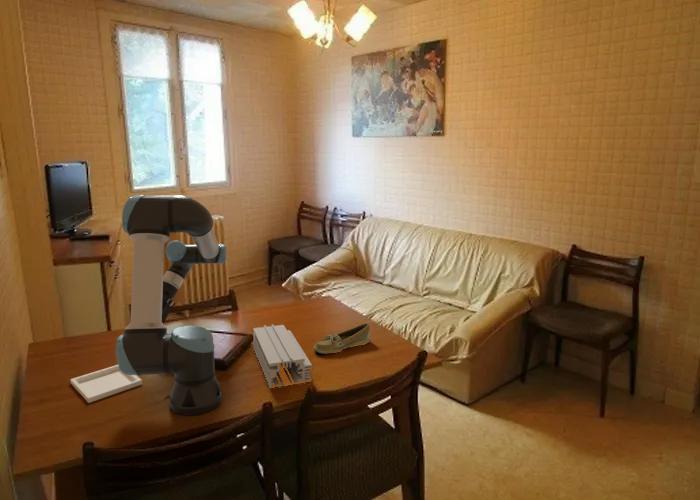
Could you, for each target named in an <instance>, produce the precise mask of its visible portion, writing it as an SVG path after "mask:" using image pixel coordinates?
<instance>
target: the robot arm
mask: <svg viewBox="0 0 700 500" xmlns="http://www.w3.org/2000/svg"><path fill="white" fill-rule="evenodd" d="M121 221H122V223H121V224H122V229H123V231H124V233H127V234H128V239H129V240H130V241H131V242H133V249H132V252H133V254H132V275H131V278H132V280H131V303H130V322H129V324H128V325H127V326H126V327H124V333H123V334H121V335H119V336H118V337H117V339H116V344H115V356H116V357H115V358H116V362H117V365H118V366H119V368H120V370H121V371H122V372H123V373H124V374H126V375H136V376H138V377H140V376H145V375H147V376H148V375H150V376H151V375H164V374H167V375H169V374H173V375H174V382H173V387H172V390H171V393H170V397H169V404H170V405H169V407H170V409H171V411H173V412H174V413H175V414H179V415H182V416H197V415H202V414H205V413H209V412H211V411H213V410H215V409H216V408H217V407H218V406H220V405H221V403H222V401H223V392H222V389H221V387H220V384H219V382H218V379H217V377H216V368H215V344H214V336H213V334H212V332H211V331H210V330H208V329H207V328H205V327H202V326H198V325H183V326H177V327H175V328H174V329H172V331H171V333H168V328H167V326H166V325H165V322H166V320H167V318H168V316H169V314H170V312H171V310H172V309H173V307H174V306H175V305H176V302H174V301H173V300H172V299H174V298H175V297H176V294H178V291H179V289H180V288H181V286H182V285H183V283H184V281H185V280H186V278H187V276H188V275H189V273H190V271H192V268H193V267H194V265H201V264H204V265H205V264H206V265H207V264H208V265H209V264H211V265H218V264H225V263H226V262H227V259H228V258H227V255H228V253H227V246H226V244H222V243H219V242H218V239H217V237H216V234H215V231H214V229H213V228H214V227H213V226H214V219H213V216H212V214H211V212H210V210H208V209H207V208H206V206H204V205H203V204H202V203H201V202H199V201H198V200H196V199H193V198H192V197H189V196H185V195H181V194H175V195H172V194H171V195H170V194H168V195H167V194H140V195H132V196H129V198H128V199H127V200H126V201H125V203H124V206H123V208H122V216H121ZM172 233H186V234H187V235H189V236H190V237H191V239H192V240H193V243H194V244H185V243H184V242H183V241H180V240H172V241H170V242H169V243H168V241H169V240H170V237H171V235H170V234H172ZM166 243H168V244H167V245H166V247H165V244H166ZM164 253H165V254H166V258H167V260H168V261H169V263H170V265H169V267H168V268H167V270H166V272H165V273H164V258H165V254H164ZM167 333H168V334H167Z"/></svg>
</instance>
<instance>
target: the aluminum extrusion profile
mask: <svg viewBox="0 0 700 500" xmlns="http://www.w3.org/2000/svg"><path fill="white" fill-rule="evenodd" d="M252 330H253V334H252V336H253V338H252V339H253V351H255V352H254V354H255V353H256V354H255V356H256V359H257V358H258V359H257V361H258V360H259V361H258V363H260V364H259V365H261V366H260V368H261V367H262V369H261V371H262V370H263V371H262V373H263V372H264V374H263V375H265V376H264V378H265V377H266V378H265V381H266V380H267V381H266V383H267V382H268V383H267V385H269V386H268V388H269V389H270V388H272V385H273V384H275V386H276V387H278V386H280V385H279V383H278V380H277V378H276V375H277V376H278V378H279V380H280V382H281V385H282V386H283V385H284V384H283V381H282V379H281V377H280V375H279V373H278V372H279V371H280V364H281V365H282V367H283V369H284V371H285V373H286V375H287V377H288V379H289V381H290V383H292V381H291V379H290V377H289V375H288V373H287V371H286V370H285V368H284V364H285V366H286V368H287V369H288V371H289V373H290V375H291V377H292V379H293V381H294V383H300V382H305V381H308V380H311V381H312V380H313V379H312V376H311V375H310V372H311V370H312V369H313V367H312V366H313V364H312V363H311V361H310V360H309V358H308V356H307V355H306V354H305V351H304V350H303V347H301V345H300V343H299V342H298V341H297V339H296V337H295V336H294V334H293V332H292V331H291V329H290V330H289V329H288V330H287V328H286V327H285V325H284V324H280V325H279V324H278V325H274V324H273V323H272V324H271V325H270V326H267V325H266V324H264V325H263V327H262V326H261V327H254V328H252ZM276 373H277V374H276Z"/></svg>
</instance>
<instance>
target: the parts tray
mask: <svg viewBox="0 0 700 500" xmlns="http://www.w3.org/2000/svg"><path fill="white" fill-rule="evenodd" d="M70 385H72V387H74V389H75V390H76V391H77V392H78V393H79V394H80V395H81V396H82V397H83V399H84V400H85V401H86V402H87V403H88V404H89V403H90V404H91V403H93V402H95V401H100V400H101V399H104V398H107V397H109V396H113V395H115V394H119V393H121V392H124V391H127V390H130V389H134V388H135V387H138V386H141V385H143V379H142V378H140V376H138V375H126V374H124V373H123V372H122V371H121V370H120V368H119V366H118V364H115V365H113V366H109V367H106V368H104V369H99V370H95V371H93V372H90V373H86V374H83V375H80V376H77V377H73V378H70Z"/></svg>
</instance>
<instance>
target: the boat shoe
mask: <svg viewBox="0 0 700 500" xmlns="http://www.w3.org/2000/svg"><path fill="white" fill-rule="evenodd" d="M370 327H371V326H370V324H369V323H362V324H360V325H357V326H355V327H351V328H349V329H346V330H343V331H340V332H338V333H332V334H328V335H325V336H324V338H323V339H320V340H318V341H316V343H315V344H314V345H313V350H314V351H315V352H317V353H319V354H322V355H328V354H327V353H333V352H338V351H341V350H343V349H345V348H347V347H349V348H351V347H350V346H354V345H359V344H364V343H368V342H371V330H370ZM347 349H348V348H347Z"/></svg>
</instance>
